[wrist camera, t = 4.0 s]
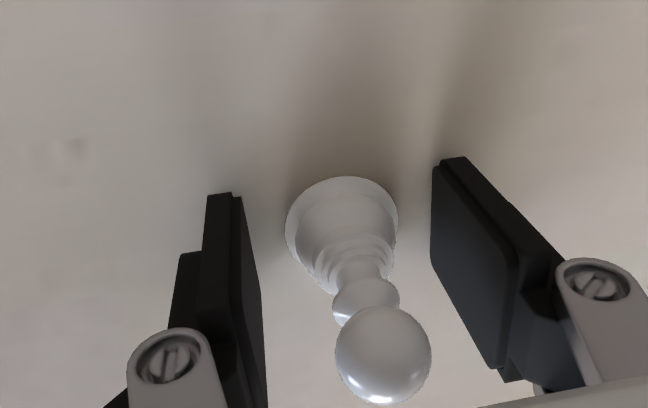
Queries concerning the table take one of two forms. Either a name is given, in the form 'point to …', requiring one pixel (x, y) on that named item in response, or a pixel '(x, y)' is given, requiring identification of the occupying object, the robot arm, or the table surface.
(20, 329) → the table surface
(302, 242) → the chess pawn
